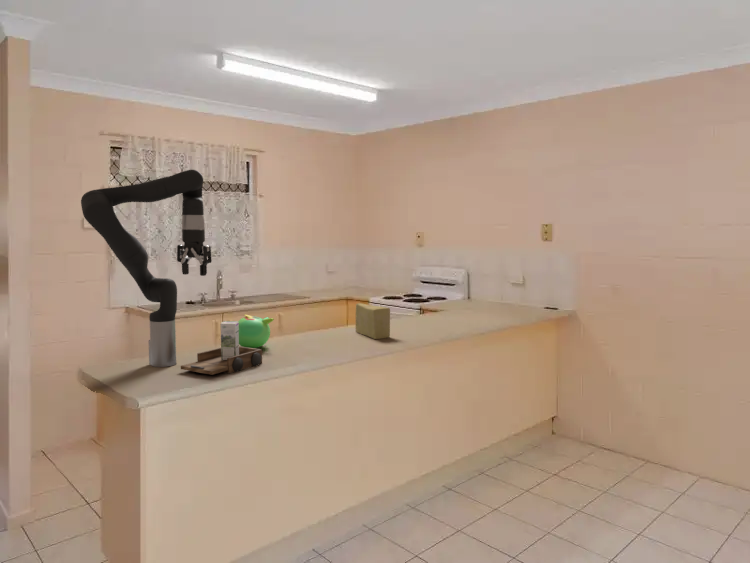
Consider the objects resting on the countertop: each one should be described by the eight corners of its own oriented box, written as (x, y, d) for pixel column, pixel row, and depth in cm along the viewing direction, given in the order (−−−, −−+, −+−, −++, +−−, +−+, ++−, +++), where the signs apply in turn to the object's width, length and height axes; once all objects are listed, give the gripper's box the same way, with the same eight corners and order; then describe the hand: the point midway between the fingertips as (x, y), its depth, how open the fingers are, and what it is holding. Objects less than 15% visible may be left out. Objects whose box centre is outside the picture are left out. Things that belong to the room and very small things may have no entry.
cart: (196, 367, 217) (195, 353, 217) (230, 358, 233) (229, 344, 232) (230, 373, 208) (230, 358, 208) (263, 363, 224) (263, 349, 224)
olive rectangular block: (348, 332, 291) (348, 303, 290) (364, 331, 297) (364, 302, 296) (374, 339, 274) (374, 308, 272) (390, 337, 279) (390, 307, 278)
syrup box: (239, 357, 223) (239, 320, 222) (235, 361, 217) (235, 323, 216) (224, 357, 223) (224, 320, 222) (220, 361, 217) (220, 323, 216)
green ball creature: (231, 344, 259) (230, 312, 258) (268, 342, 265) (268, 310, 264) (236, 353, 243) (235, 318, 241) (276, 350, 249) (276, 316, 247)
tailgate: (180, 369, 209) (180, 364, 209) (197, 364, 216) (197, 359, 216) (211, 374, 202) (211, 369, 202) (228, 369, 209) (228, 365, 208)
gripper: (170, 228, 200) (171, 274, 201) (200, 228, 193) (201, 276, 194) (187, 228, 206) (188, 273, 208) (216, 228, 199) (217, 275, 201)
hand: (194, 275), depth 201 cm, fingers open, 8 cm apart
